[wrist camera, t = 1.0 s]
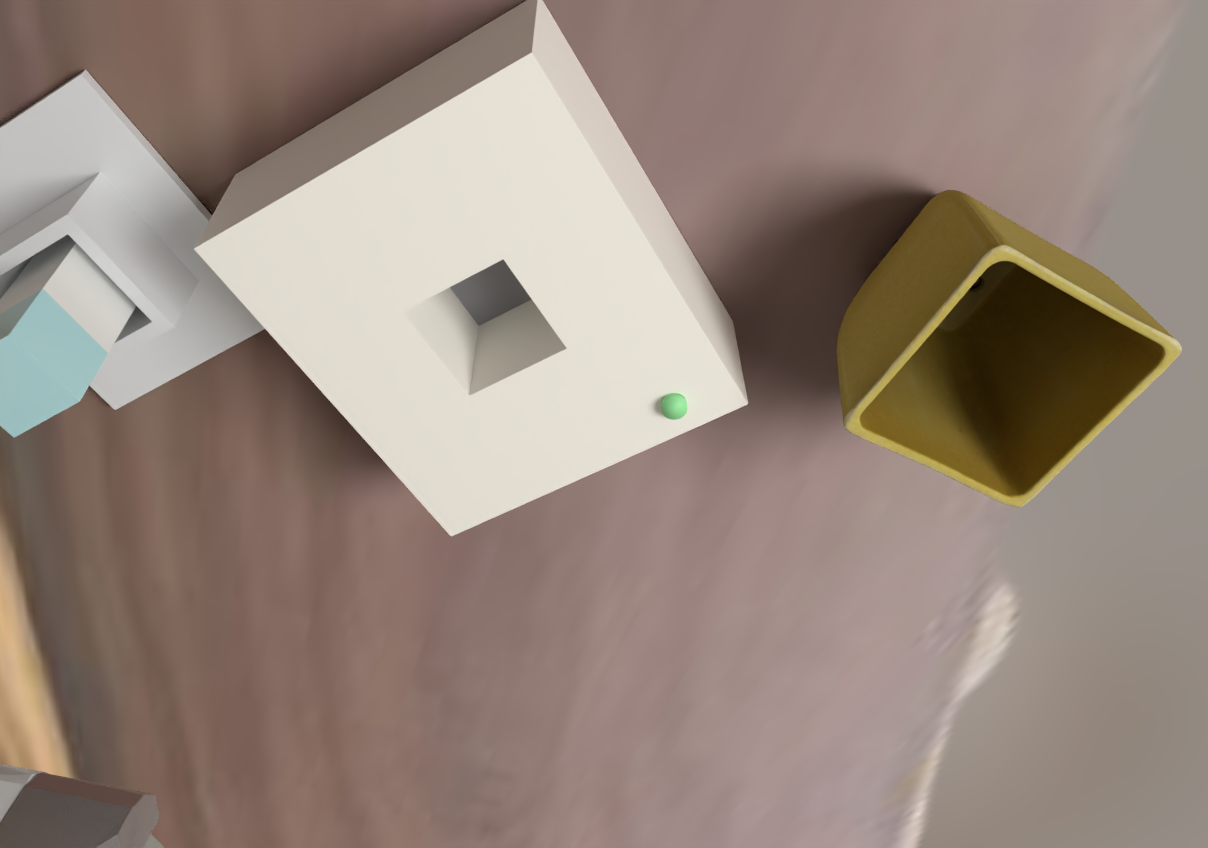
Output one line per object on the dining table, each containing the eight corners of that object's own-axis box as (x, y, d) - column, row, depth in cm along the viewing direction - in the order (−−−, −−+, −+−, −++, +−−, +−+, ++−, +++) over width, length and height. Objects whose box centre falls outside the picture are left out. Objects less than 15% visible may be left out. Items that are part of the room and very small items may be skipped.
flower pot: (1100, 228, 47) (1191, 351, 40) (960, 380, 52) (1020, 514, 44) (932, 129, 44) (998, 241, 37) (800, 299, 49) (837, 428, 42)
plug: (41, 246, 46) (-59, 374, 39) (99, 210, 45) (8, 334, 38) (99, 305, 48) (14, 437, 41) (156, 271, 47) (79, 401, 40)
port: (235, 174, 45) (190, 254, 40) (538, -7, 41) (531, 56, 36) (463, 448, 54) (450, 542, 48) (733, 321, 49) (749, 410, 44)
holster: (-100, 192, 45) (-152, 241, 42) (85, 69, 42) (45, 112, 39) (118, 403, 52) (87, 459, 49) (293, 308, 49) (272, 362, 46)
